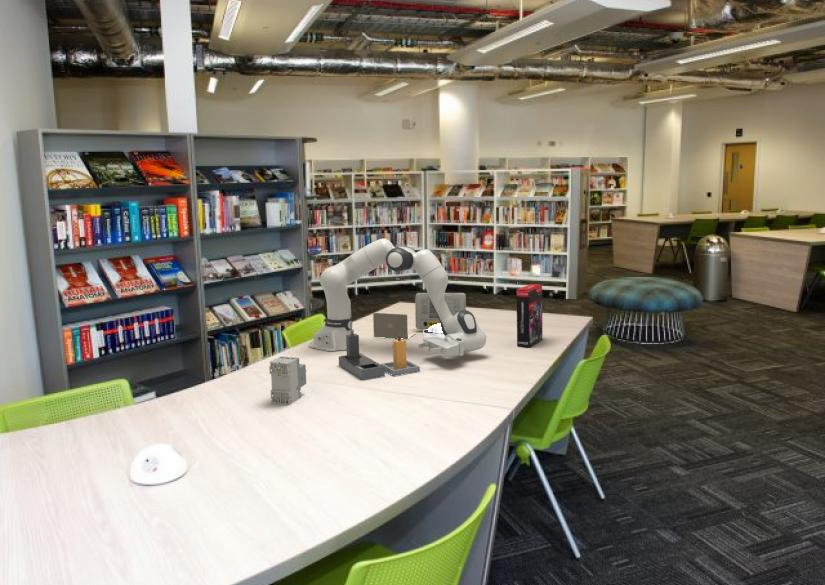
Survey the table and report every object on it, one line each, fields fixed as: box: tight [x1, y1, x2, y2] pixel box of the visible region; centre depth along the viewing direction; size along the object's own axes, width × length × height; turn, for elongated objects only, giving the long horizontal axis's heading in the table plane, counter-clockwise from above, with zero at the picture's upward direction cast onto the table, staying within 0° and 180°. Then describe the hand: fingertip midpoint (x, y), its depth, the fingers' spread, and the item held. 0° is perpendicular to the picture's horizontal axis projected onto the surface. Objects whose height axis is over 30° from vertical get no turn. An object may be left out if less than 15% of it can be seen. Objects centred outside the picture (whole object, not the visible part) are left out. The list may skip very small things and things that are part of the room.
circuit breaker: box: [268, 355, 307, 406], centre depth 235 cm, size 8×14×15 cm, turn 161°
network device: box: [414, 292, 467, 330], centre depth 330 cm, size 26×9×20 cm, turn 84°
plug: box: [392, 335, 407, 370], centre depth 266 cm, size 3×4×14 cm
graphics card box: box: [516, 283, 543, 348], centre depth 304 cm, size 17×7×27 cm, turn 148°
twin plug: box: [346, 328, 360, 359], centre depth 273 cm, size 3×4×14 cm
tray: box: [380, 359, 421, 377], centre depth 267 cm, size 12×12×2 cm
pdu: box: [338, 352, 386, 381], centre depth 267 cm, size 24×10×4 cm, turn 29°
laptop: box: [372, 312, 409, 340], centre depth 324 cm, size 18×12×13 cm
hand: (424, 348), depth 271 cm, fingers open, 8 cm apart
